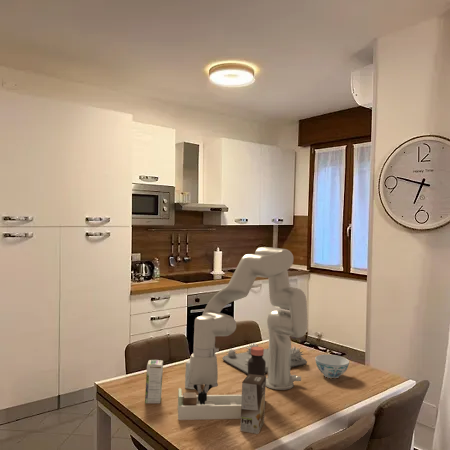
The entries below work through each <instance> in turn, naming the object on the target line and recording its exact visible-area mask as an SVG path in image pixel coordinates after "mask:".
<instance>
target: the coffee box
mask: <svg viewBox="0 0 450 450" xmlns="http://www.w3.org/2000/svg"><path fill="white" fill-rule="evenodd" d="M266 378H267V376H266V375H265V376H262V375H255V374H254V375H253V374H247V376H246V377H245V378H244V379H243V380H242V382H241V383H242V385H241V395H242V402H241V419H240V428H239V430H240V432H245V433H250V434H257V435H258V434H259V433H260V431H261V429H262V427H263V425H264V423H265V412H266V411H265V409H266V408H265V406H266V387H267V386H266Z"/></svg>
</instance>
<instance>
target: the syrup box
mask: <svg viewBox="0 0 450 450" xmlns="http://www.w3.org/2000/svg"><path fill="white" fill-rule="evenodd" d="M163 365H164V360H161V359H160V360H159V359H149V360H148V362H147V365H146V374H145V375H146V377H145V395H144V403H145V404H161V400H162V394H163V393H162V391H163V388H162V387H163V367H164V366H163Z"/></svg>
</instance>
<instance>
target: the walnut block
mask: <svg viewBox="0 0 450 450" xmlns="http://www.w3.org/2000/svg"><path fill="white" fill-rule="evenodd" d="M182 395H183V406H184V405H197V396H196V395H197V392H183V393H182Z"/></svg>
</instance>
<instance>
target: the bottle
mask: <svg viewBox="0 0 450 450" xmlns="http://www.w3.org/2000/svg"><path fill="white" fill-rule="evenodd" d="M250 348H251V347H250ZM264 349H265V348H263V347H261V346H258V347H252V348H251V356H252V357H251V358H250V359H249V360H248V374H253V375H254V374H255V375H262V376H266V373H265V366H266V362H265V360H264V359H263V354H264ZM248 374H247V375H248Z"/></svg>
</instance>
